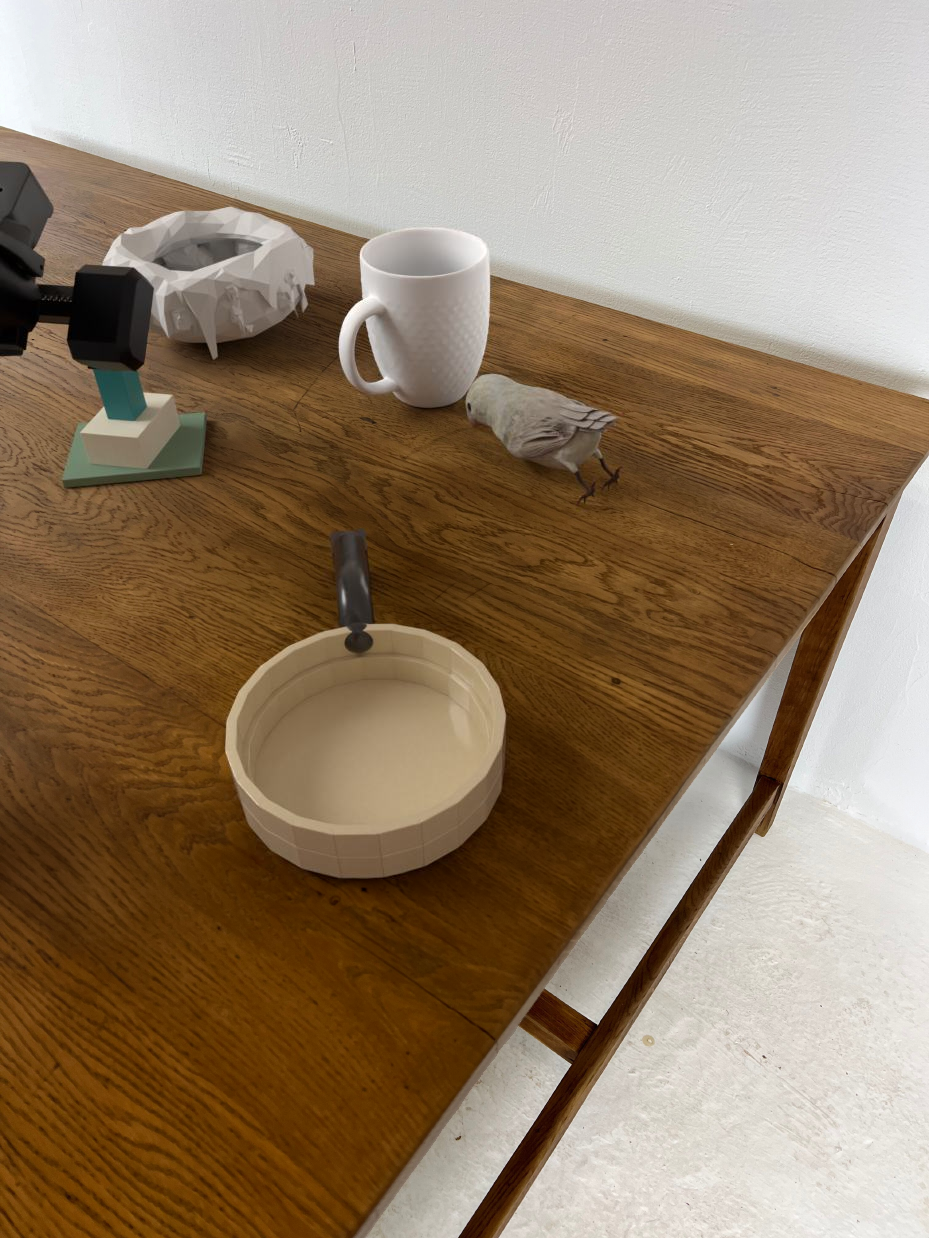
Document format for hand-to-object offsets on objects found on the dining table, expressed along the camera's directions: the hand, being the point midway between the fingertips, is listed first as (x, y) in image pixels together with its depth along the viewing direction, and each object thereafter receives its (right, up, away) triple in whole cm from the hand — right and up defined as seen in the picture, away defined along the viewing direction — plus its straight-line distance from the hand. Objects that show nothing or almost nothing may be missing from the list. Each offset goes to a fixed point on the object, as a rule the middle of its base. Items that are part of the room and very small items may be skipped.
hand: (78, 353), depth 70 cm
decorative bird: (+35, -7, +9) cm, 36 cm away
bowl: (+3, +10, +28) cm, 30 cm away
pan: (+23, -29, -15) cm, 40 cm away
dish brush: (+1, -5, +10) cm, 11 cm away
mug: (+25, +1, +17) cm, 30 cm away
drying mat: (+1, -6, +10) cm, 12 cm away
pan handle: (+22, -21, -6) cm, 30 cm away
